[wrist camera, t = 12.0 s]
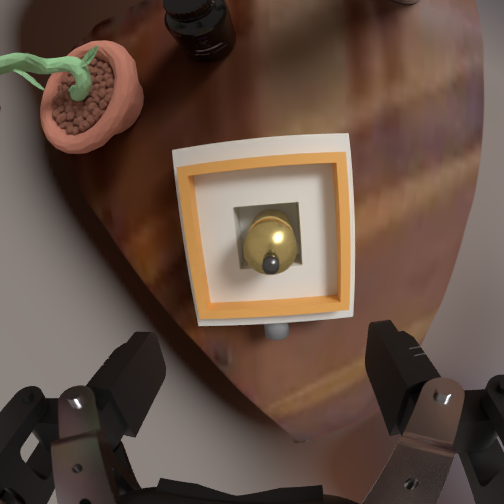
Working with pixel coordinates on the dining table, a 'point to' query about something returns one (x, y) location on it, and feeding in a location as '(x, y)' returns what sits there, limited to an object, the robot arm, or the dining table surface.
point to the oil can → (270, 243)
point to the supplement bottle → (201, 28)
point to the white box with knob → (242, 215)
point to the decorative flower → (84, 94)
